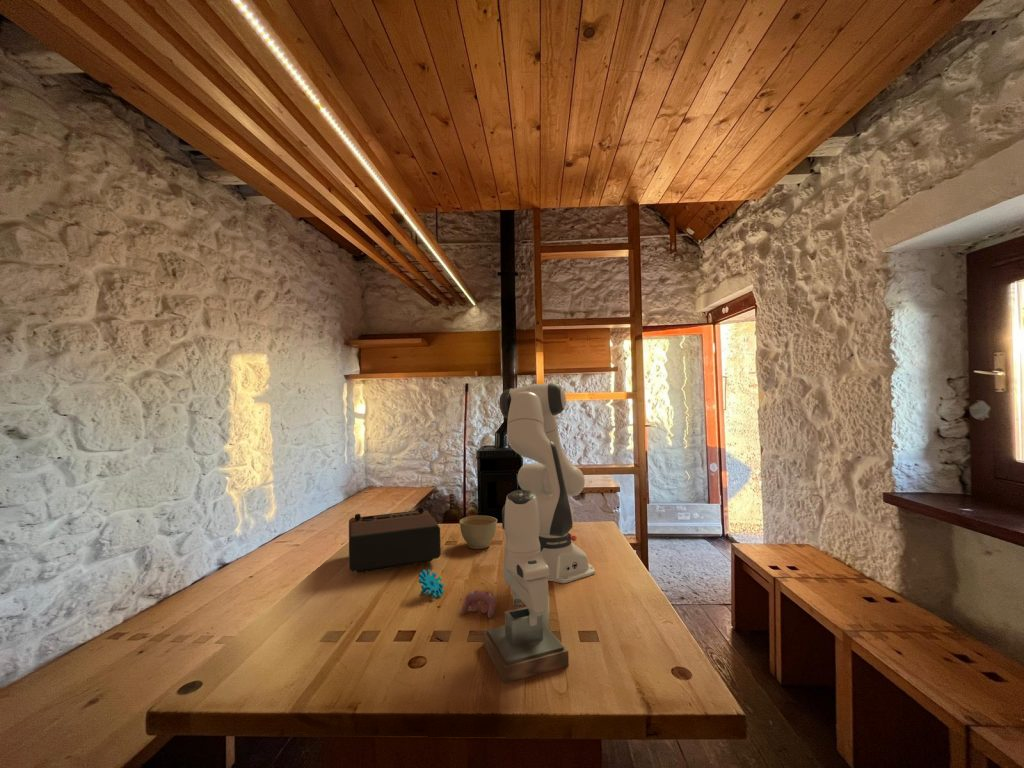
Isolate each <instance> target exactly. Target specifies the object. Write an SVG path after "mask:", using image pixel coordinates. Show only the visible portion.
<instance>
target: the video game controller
mask: <svg viewBox="0 0 1024 768" xmlns="http://www.w3.org/2000/svg"><path fill="white" fill-rule="evenodd" d="M479 603H483V604H482V605H481V607H480V604H479ZM496 604H497V598H496V596H495V595H494V594H491V592H489V591H485V590H474V591H473V590H472V591H470V592H468V593H467V595H466V596H465V598H464V601H463V604H462V605H461V615H462V616H465V615H466V613H467V612H468V611H469V608H470V609H471V611H472V612H478V611H479V610H480V611H481V612H482V613H483V614H487V618H488V619H489V620H491V619H492V618H493V617H494V614H495V609H496Z"/></svg>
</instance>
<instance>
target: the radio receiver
mask: <svg viewBox="0 0 1024 768" xmlns="http://www.w3.org/2000/svg"><path fill="white" fill-rule="evenodd" d="M441 551H442V550H441V527H440V526H439V524H438V522H437V520H436V519H434V517H433V516H432V515H431V514H430V513H429V510H427V509H424V506H419V507H418V510H409V511H408V510H407V511H403V512H402V511H400V512H392V513H382V514H375V515H366V516H365V515H364V516H361V514H360V513H356V514H355V515H354V517H351V518H349V520H348V562H349V563H348V567H349V570H350V571H351V572H356V573H358V574H361V573H362V574H365V573H367V572H373V571H381V570H386V569H393V568H399V567H405V566H411V565H417V564H418V565H419V564H426V563H431V562H432V561H433V560H435V559H438V558H440V557H441Z"/></svg>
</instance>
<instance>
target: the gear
mask: <svg viewBox="0 0 1024 768" xmlns="http://www.w3.org/2000/svg"><path fill="white" fill-rule="evenodd" d="M431 572H432V570H431V569H429V568H428V569H427V570H426V569H422V570H421V572H420V573H419V574H418V578H419V579H418V583H419V584H422V585H421V586H420V588H421V591H420V595H424V594H426V596H430V595H431V593H432V595H431V598H433V599H436V598H441V597H442V594H444V592H445V590H444V589H443V588H444V586H445V585H444V583H441V582H442V578H443V577H442V575H439V576H438V577H436V576H437V573H436V572H434V571H433V573H432V574H431Z"/></svg>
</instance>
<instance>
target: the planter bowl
mask: <svg viewBox="0 0 1024 768" xmlns="http://www.w3.org/2000/svg"><path fill="white" fill-rule="evenodd" d="M497 523H498V519H497V518H496V517H493V516H489V515H470V516H465V517H464V518H461V519H460V520H459V525H460V532H461V535H462V538H463V539H464V541H465V543H466V545H467V547H468V548H470V549H475V550H480V549H486V548H488V547H490V545H491V544H490V543H491V542H492V540H493V539H494V538H495V534H496V532H497Z"/></svg>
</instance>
